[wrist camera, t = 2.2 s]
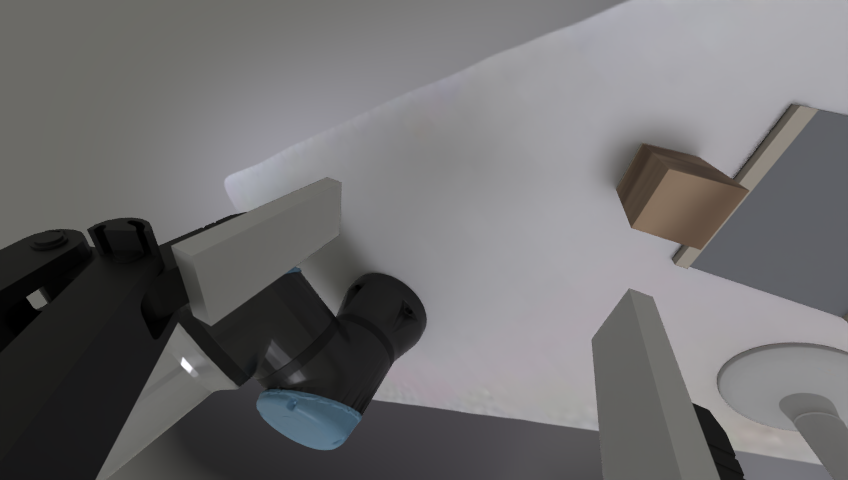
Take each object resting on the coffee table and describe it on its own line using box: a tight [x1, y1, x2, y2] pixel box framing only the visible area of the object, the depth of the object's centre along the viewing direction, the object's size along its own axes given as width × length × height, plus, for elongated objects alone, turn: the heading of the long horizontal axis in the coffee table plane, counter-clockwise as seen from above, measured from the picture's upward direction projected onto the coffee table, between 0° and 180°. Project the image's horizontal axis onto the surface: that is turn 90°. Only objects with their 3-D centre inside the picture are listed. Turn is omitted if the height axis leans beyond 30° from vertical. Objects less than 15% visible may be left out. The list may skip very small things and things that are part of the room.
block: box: [616, 143, 749, 250], centre depth 27 cm, size 5×5×10 cm
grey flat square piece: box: [672, 104, 848, 322], centre depth 27 cm, size 16×16×2 cm
